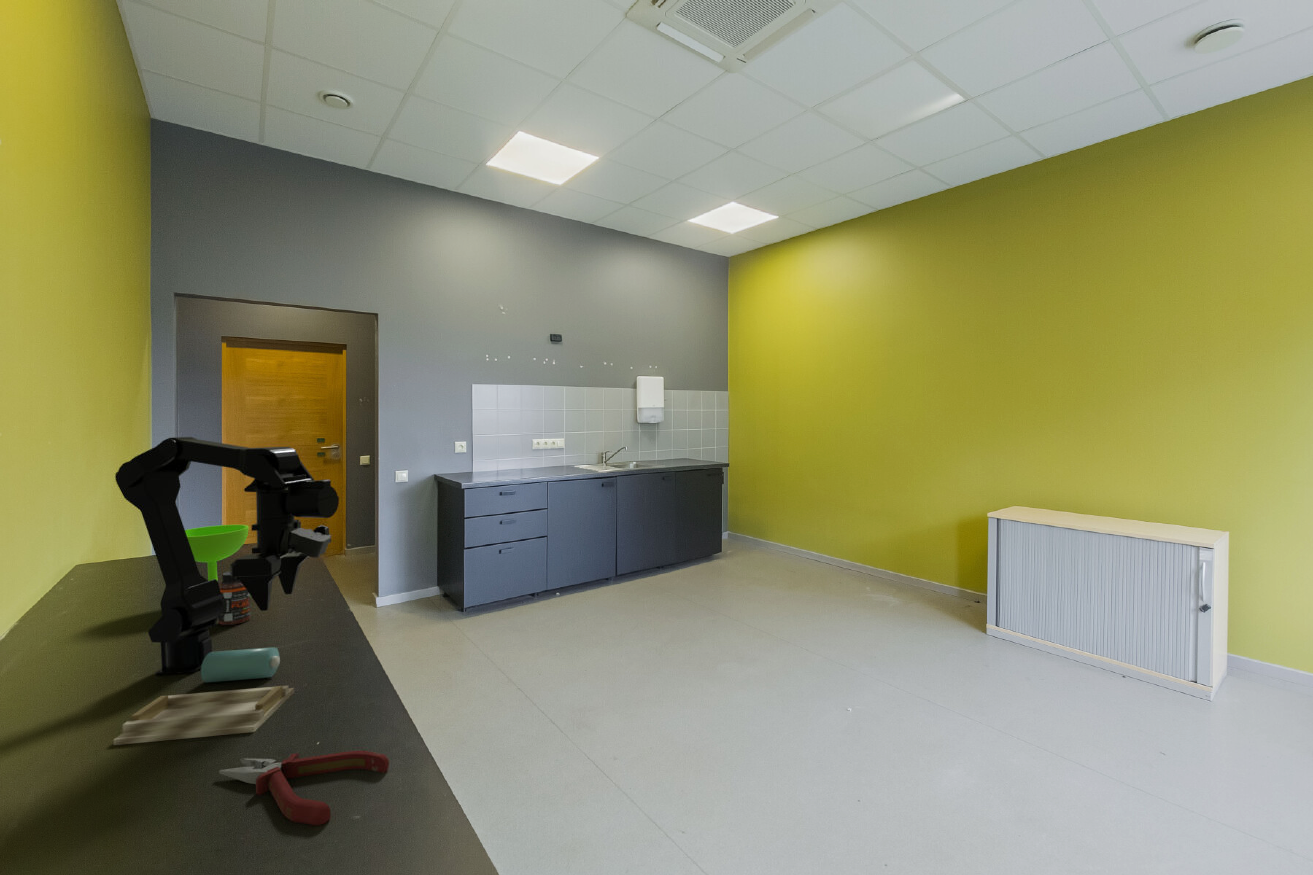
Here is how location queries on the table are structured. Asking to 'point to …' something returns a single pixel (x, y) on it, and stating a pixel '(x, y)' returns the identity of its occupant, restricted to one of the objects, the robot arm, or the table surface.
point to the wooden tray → (203, 714)
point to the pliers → (275, 774)
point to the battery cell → (240, 664)
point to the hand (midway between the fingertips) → (277, 601)
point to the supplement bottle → (234, 601)
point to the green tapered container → (216, 544)
